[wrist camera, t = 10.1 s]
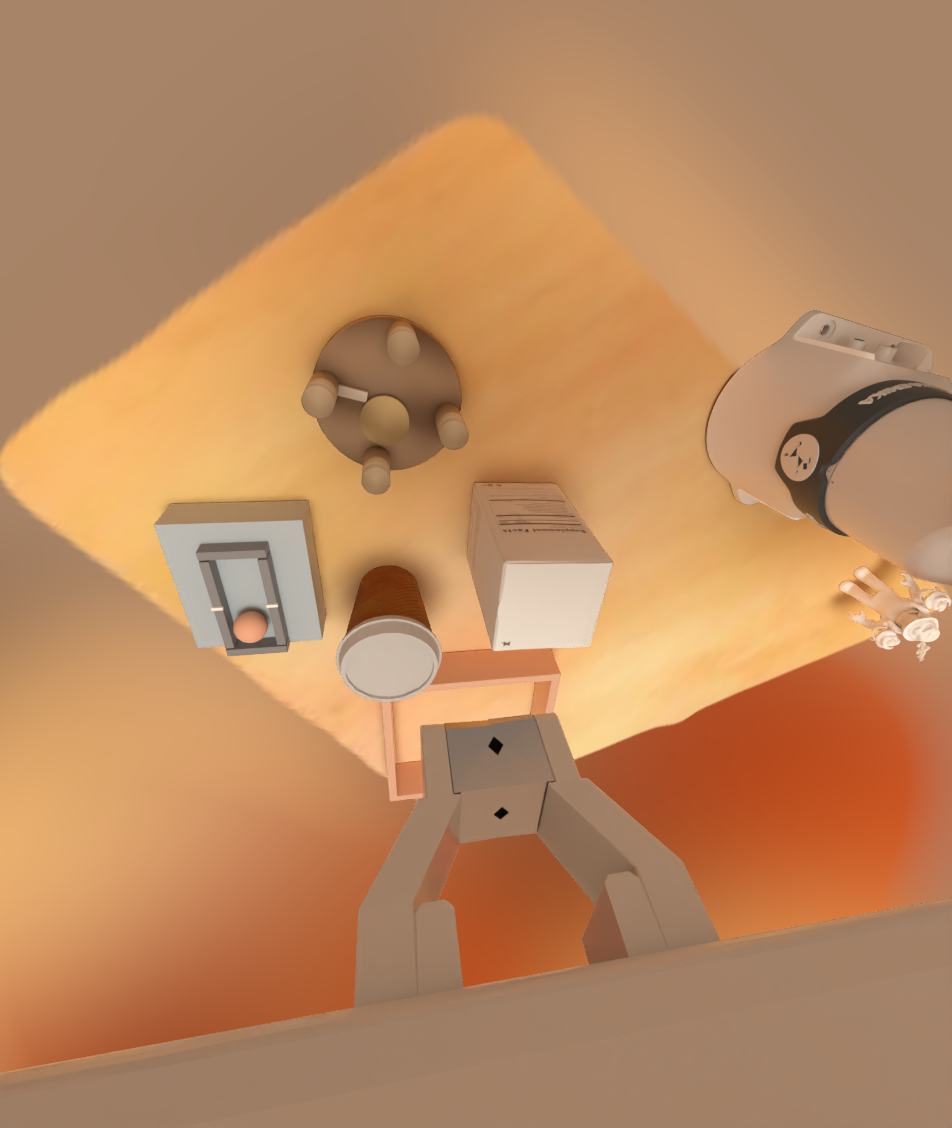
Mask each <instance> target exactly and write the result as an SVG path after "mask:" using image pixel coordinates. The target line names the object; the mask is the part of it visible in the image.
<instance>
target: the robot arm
mask: <svg viewBox="0 0 952 1128" xmlns="http://www.w3.org/2000/svg"><path fill="white" fill-rule="evenodd" d="M823 326H824V328H823V330H822V332H821V333H820V331H821V328H822V327H823ZM932 364H933V350H932V348H930V347H929V346H926V345H923V344H921V343H917V342H914V341H911V340H908V339H905V338H902V337H899V336H896V335H892V334H889V333H886V332H883V331H880V330H877V329H873V328H871V327H867V326H864V325H861V324H858V323H855V322H852V321H849V320H845V319H842V318H839V317H836V316H833V315H829V314H826V313H823V312H820V311H815V310H814V311H810V312H808V313H806V314H805V315H804V316H802V317H801V318H800V319H799V320H798V321H797V322H796V323H795V324H794V325H793V326H792V327H791V328H790V330H789V331H788V332H787V333H786V334H785V335H784V336H783V338H781V339H780V340H779V341H777V342H776V343H774V344H773V345H772V346H770V347H768V348H766V349H765V350H763V351H761V352H760V353H758V354H757V355H756V356H754V357H753V358H752V359H750V360H749V361H748V362H747V363H746V364H744V365H743V366H742V367H741V368H740V369H739V370H738V371H737V372H736V373H735V375H734V376H733V377H732V378H731V379H730V381H729V382H728V383H727V385H726V386H725V387H724V389H723V390H722V392H721V394H720V395H719V397H718V399H717V401H716V403H715V405H714V408H713V410H712V413H711V416H710V419H709V423H708V428H707V450H708V454H709V458H710V460H711V462H712V464H713V466H714V467H715V468H716V470H717V471H718V472H719V473H720V474H721V475H723V476H724V477H725V478H726V479H727V480H728V481H729V482H730V484H731V488H732V492H733V495H734V497H735V499H736V500H737V501H739V502H741V503H743V504H746V505H748V504H754V503H758V502H761V503H763V504H764V505H766V506H768V507H770V508H772V509H773V510H775V511H777V512H779V513H781V514H782V515H784V516H786V517H788V518H790V519H793V520H799V519H801V518H810V519H811V520H812V521H813V522H815V523H816V524H818V525H819V526H821V527H824V528H825V529H829V530H830V531H832V532H834V533H836V534H839V535H842V536H849V537H851V538H853V539H855V540H856V541H858V542H859V543H861V544H862V545H864V546H865V547H867V548H869V549H870V550H872V551H873V552H875V553H876V554H878V555H880V556H881V557H883V558H884V559H886V560H887V561H889V562H890V563H892V564H894V565H895V566H897V567H898V568H900V569H901V570H903V571H905V572H906V573H908V574H909V575H911V576H913V577H915V578H918V579H921V580H924V581H928V582H932V583H938V584H943V585H952V382H951V380H950V379H949V378H947V377H943V376H939V375H935V374H931V370H932ZM420 736H421V771H422V790H423V798H420V799H418V801H417V803H416V805H415V806H414V808H413V810H412V812H411V814H410V816H409V818H408V819H407V821H406V823H405V825H404V827H403V829H402V830H401V832H400V835H399V836H398V838H397V840H396V842H395V844H394V845H393V847H392V850H391V851H390V853H389V855H388V857H387V858H386V860H385V862H384V864H383V866H382V868H381V869H380V871H379V873H378V875H377V877H376V879H375V881H374V883H373V884H372V886H371V888H370V890H369V892H368V894H367V895H366V897H365V899H364V901H363V903H362V905H361V907H360V908H359V910H358V934H357V957H356V981H355V1004H354V1006H355V1007H354V1008H350V1009H344V1010H339V1011H334V1012H329V1013H323V1014H317V1015H312V1016H307V1017H301V1018H296V1019H290V1020H285V1021H279V1022H274V1023H268V1024H263V1025H257V1026H252V1027H247V1028H241V1029H236V1030H231V1031H226V1032H219V1033H214V1034H209V1035H204V1036H198V1037H192V1038H187V1039H181V1040H176V1041H171V1042H165V1043H160V1044H154V1045H149V1046H143V1047H138V1048H133V1049H128V1050H123V1051H116V1052H111V1053H106V1054H100V1055H95V1056H90V1057H84V1058H78V1059H73V1060H67V1061H62V1062H57V1063H51V1064H46V1065H41V1066H35V1067H29V1068H24V1069H19V1070H13V1071H8V1072H2V1073H0V1128H952V898H948V899H943V900H937V901H931V902H926V903H920V904H916V905H910V906H904V907H899V908H893V909H888V910H882V911H877V912H872V913H866V914H861V915H855V916H850V917H844V918H840V919H833V920H828V921H823V922H817V923H812V924H806V925H801V926H795V927H790V928H785V929H779V930H774V931H768V932H763V933H757V934H752V935H747V936H741V937H736V938H731V939H725V940H720V939H719V937H718V934H717V932H716V930H715V928H714V926H713V924H712V922H711V920H710V918H709V916H708V914H707V911H706V909H705V907H704V905H703V904H702V901H701V899H700V897H699V895H698V893H697V891H696V888H695V886H694V884H693V882H692V880H691V878H690V876H689V874H688V872H687V870H686V868H685V865H684V863H683V861H682V860H680V859H679V858H678V857H677V856H676V855H675V854H674V853H672V852H671V851H670V850H669V849H668V848H667V847H665V846H664V845H663V844H662V843H661V842H660V841H659V840H658V839H656V838H655V837H654V836H653V835H652V834H651V833H649V832H648V831H647V830H646V829H645V828H644V827H643V826H641V825H640V824H639V823H638V822H637V821H636V820H635V819H633V818H632V817H631V816H630V815H629V814H628V813H627V812H625V811H624V810H623V809H622V808H621V807H620V806H619V805H617V804H616V803H615V802H614V801H613V800H612V799H610V798H609V797H608V796H607V795H606V794H605V793H604V792H603V791H601V790H600V789H599V788H598V787H597V786H596V785H595V784H593V783H592V782H591V781H590V780H589V779H588V778H585V779H581V778H580V775H579V773H578V770H577V767H576V765H575V762H574V759H573V756H572V754H571V751H570V748H569V746H568V743H567V740H566V738H565V735H564V732H563V729H562V727H561V724H560V721H559V719H558V716H557V715H556V714H555V713H545V714H536V715H531V714H530V715H522V716H513V717H504V718H495V719H488V720H486V721H472V722H458V723H445V724H433V725H422V726H421V727H420ZM533 833H538V834H537V835H538V837H539V838H540V839H541V840H542V842H543V843H544V844H545V845H546V846H547V848H548V849H549V850H550V851H551V852H552V854H553V855H554V856H555V857H556V859H557V860H558V861H559V862H560V863H561V865H562V866H563V867H564V868H565V869H566V871H567V872H568V873H569V874H570V875H571V877H572V878H573V879H574V880H575V881H576V883H577V884H578V885H579V886H580V887H581V889H582V890H583V891H584V892H585V894H586V895H587V896H588V897H589V898H590V900H591V901H592V902H593V903H594V904H595V908H594V911H593V913H592V916H591V918H590V921H589V923H588V925H587V928H586V930H585V933H584V935H583V938H582V941H583V944H584V948H585V951H586V955H587V959H588V962H589V965H583V966H578V967H573V968H567V969H562V970H557V971H551V972H546V973H540V974H535V975H529V976H524V977H518V978H513V979H508V980H502V981H497V982H491V983H486V984H480V985H475V986H470V987H464V988H463V981H462V974H461V964H460V955H459V946H458V938H457V929H456V921H455V912H454V906H452V905H451V904H450V903H449V902H447V901H446V900H440V901H438V900H439V897H440V895H441V892H442V889H443V887H444V884H445V882H446V879H447V877H448V874H449V871H450V869H451V866H452V864H453V861H454V858H455V856H456V853H457V851H458V848H459V844H461V843H467V842H473V841H479V840H485V839H491V838H497V837H505V836H515V835H524V834H533Z"/></svg>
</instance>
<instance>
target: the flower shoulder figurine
mask: <svg viewBox="0 0 952 1128" xmlns="http://www.w3.org/2000/svg"><path fill="white" fill-rule="evenodd" d="M900 575H901V576H904V577H905V581H899V582H900V583H901V584H902V585H904V586H906V587H908V589H909V594H910V595H911V597H910V598H911V599H912V600H911V599H909V598H902V597H900V596H898V595H897V594H896V593H895V592H894V590H893V589H891V588H889V587H888V586H887V585H886V584H885V583H883V582H882V581H881V580H879V579H878V578H877V577H876V576H875V575H873V574H872V573H871V572H870V571H869V569H868V568H866V567H859V568H858V569H856V570H855V572H854V576H855V577H857V579H858V580H860V581H862V582H863V583H865V584H866V585H868V586H870V587H871V588H872V589H873V590H874V591H875V593H876V595H875V596H873V595H871V594H868V593H866V592H865V591H863V590H862V589H861V588H860V587H858V586H857V585H856V584H855V583H854V582H851V581H844V582H842V583H841V584H840V586H839V589H840V590H841V591H842V592H844V593H847V594H848V595H850V596H852V597H853V598H855V599H857V600H858V601H860V602H861V603H863V604H864V605H866V606H868V608H870V609H872V610H875V611H876V612H878V613H879V614H880V618H881V620H880V621H874V620H870V619H866V616H865V614H864V612H863V611H861V610H860V611H859V612H860V614H859V615H857V614H853V613H852V611H849V612H848V617H849V618H850V619H851V620H852V621H853V622H856V623H858V624H861V625H863V626H865V627H867V628H870V629H872V637H873V638H874V639H871V638H869V639H870V640H872V641H874V640H875V641H874V642H875V643H876V644H877V646H878V647H882V648H885V649H892V648H890V647H888V646H894V645H897V644H899V643H900V640H899V641H897V640H898V638H897V635H896V632H897V633H899V634H903V636H904V638H905V639H907V640H909V641H922V642H921V643H919V644H918V645H917V647H918V648H920V647H921V649H919V650H918V651H917V652H916V654H917V655H918V654H919V653H920V655H919V656H917V658H919V657H920V658H919V661H922V660H924V658H922V657H924V655H925V654H926V651H927V650H929V649H930V647H929V646H926V643H925V642H931V641H934V640H935V639H937V638H938V637H939V635H940V632H939V630H938V620H937V619H935V618H930V617H931V616H930V615H929V613H930V612H929V611H928V609H934V610H938V609H939V611H938V612H941V611H943V610H944V609H945V607H946V606H947V602H949V606H950V604H951V599H949V596H948V594H947V593H944V592H941V591H940V590H939V589H938V588H937V587H935V588H936V589H937V591H936V590H934V589H923V590H921V591H920V589H919V587H918V586H917V584H916V583H915V581H914V579H913V578H912V576H911V575H909V574H908V573H905V572H900ZM930 590H934V591H933V592H931V593H930V594H929V595H928V596H926V597H925V598H924V599H923V597H922V594H923V593H924V592H927V591H930ZM938 590H939V591H938ZM923 605H924V606H925V607H924V606H923ZM947 610H948V609H947ZM898 626H899V627H898ZM876 630H879V631H881V632H880V633H878V634H877V635H875V637H874V636H873V634H874V632H875V631H876ZM922 652H923V653H922ZM921 658H922V659H921Z"/></svg>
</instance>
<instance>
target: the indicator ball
mask: <svg viewBox="0 0 952 1128" xmlns="http://www.w3.org/2000/svg"><path fill="white" fill-rule="evenodd" d="M267 629H268V623H267V620H266V618H265V617H264V616H263V615H262V614H260V613H258V612H254V611H249V612H245V613H243V614H241V615H240V616H238V617H237V619H236V620H235V622H234V626H233V630H234V634H235V636H236V637H237V638H238V639H239V640H241V641H242V642H245V643H254V642H257V641H259V640H261V639H262V638H263V637H264V636H265V634H266V632H267Z"/></svg>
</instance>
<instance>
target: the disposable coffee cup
mask: <svg viewBox="0 0 952 1128" xmlns="http://www.w3.org/2000/svg"><path fill="white" fill-rule="evenodd" d="M441 660H442V651H441V646H440V643H439V642H438V640H437V638H436V636H435V635H434V634H433V633H432V630H431V627H430V624H429V621H428V617H427V614H426V611H425V608H424V605H423V602H422V598H421V595H420V592H419V589H418V585H417V582H416V580H415V578H414V577H413V576H412V574H410V573H409V572H408V571H406V570H404V569H402V568H399V567H394V566H384V567H379V568H376V569H374V570H372V571H370V572H369V573H368V574H366V575H365V577H364V578H363V579H362V581H361V583H360V587H359V591H358V594H357V597H356V601H355V604H354V608H353V611H352V615H351V618H350V622H349V625H348V629H347V633H346V636H345V637H344V638H343V639H342V641H341V643H340V645H339V647H338V649H337V654H336V665H337V669H338V671H339V673H340V674H341V676H342V679H343V681H344V683H345V684H346V685H347V687H348V688H349V689H350V690H351V691H353V692H354V693H355V694H357V695H359V696H361V697H363V698H365V699H369V700H373V701H379V702H393V701H400V700H404V699H408V698H410V697H413V696H415V695H417V694H419V693H420V692H422V691H423V690H425V689H426V688H427V687H428V686H429V685H430V684H431V682H432V681H433V679H434V678H435V676H436V673H437V670H438V668H439V667H440V663H441Z"/></svg>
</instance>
